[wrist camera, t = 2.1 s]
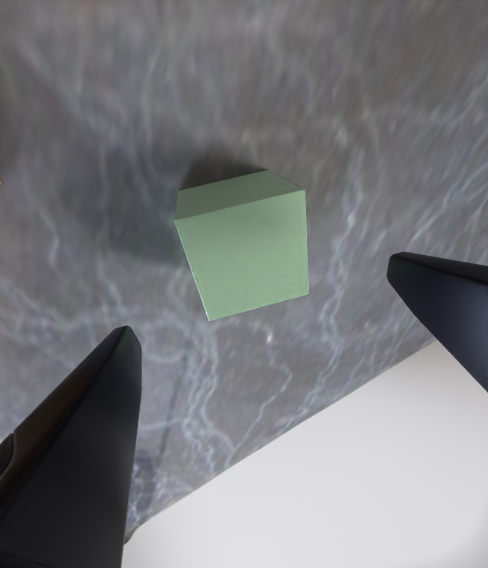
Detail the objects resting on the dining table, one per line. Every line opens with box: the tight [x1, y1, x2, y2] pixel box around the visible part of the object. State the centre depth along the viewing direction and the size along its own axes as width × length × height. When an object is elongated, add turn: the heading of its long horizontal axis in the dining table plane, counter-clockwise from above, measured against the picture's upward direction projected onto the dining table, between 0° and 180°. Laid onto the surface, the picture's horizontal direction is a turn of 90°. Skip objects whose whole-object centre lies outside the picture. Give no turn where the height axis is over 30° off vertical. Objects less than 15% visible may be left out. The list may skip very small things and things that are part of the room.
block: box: [174, 170, 309, 321], centre depth 13 cm, size 5×5×5 cm
